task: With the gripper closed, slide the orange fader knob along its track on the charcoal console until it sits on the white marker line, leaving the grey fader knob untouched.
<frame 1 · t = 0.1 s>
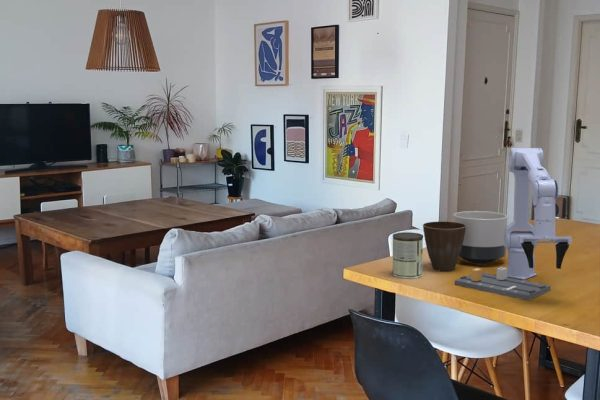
hand: (544, 268, 182), 11 cm above the table, tool pointing down, fingers open, 7 cm apart
plant pot: (443, 269, 226), on the table
grey fader knob: (501, 273, 204), point 4 cm above the table, slide at 0.0 cm
coffee can: (407, 275, 218), on the table
console: (501, 287, 201), on the table
planter: (478, 262, 237), on the table
orange fader knob: (476, 274, 203), point 4 cm above the table, slide at 0.0 cm
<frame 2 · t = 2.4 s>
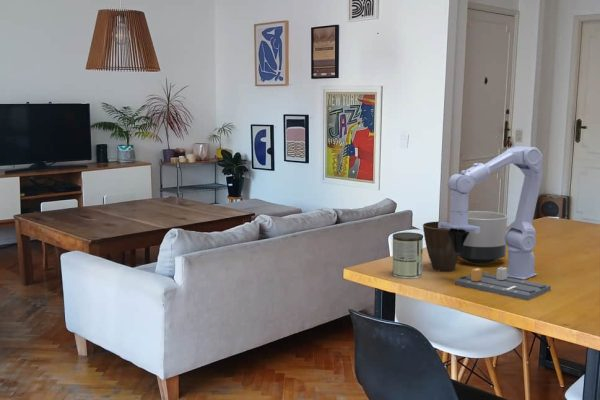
hand: (458, 252, 207), 10 cm above the table, tool pointing down, fingers closed
nothing on the table moved.
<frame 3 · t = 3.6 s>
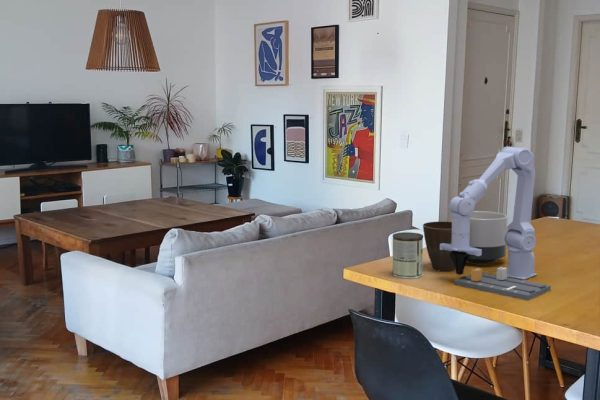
hand: (459, 274, 208), 3 cm above the table, tool pointing down, fingers closed
nothing on the table moved.
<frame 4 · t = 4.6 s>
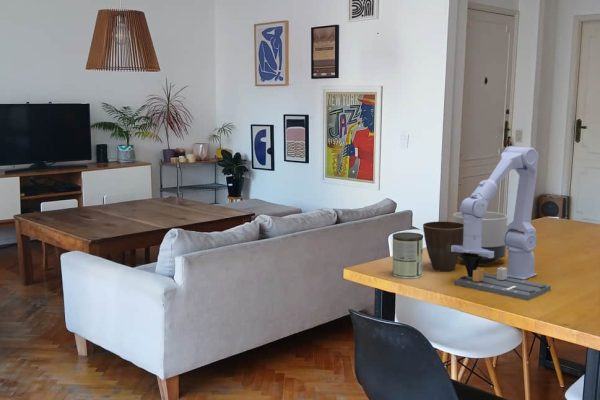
hand: (471, 276, 205), 3 cm above the table, tool pointing down, fingers closed
orange fader knob: (478, 274, 203), point 4 cm above the table, slide at 0.5 cm, touching gripper
everything else where it was.
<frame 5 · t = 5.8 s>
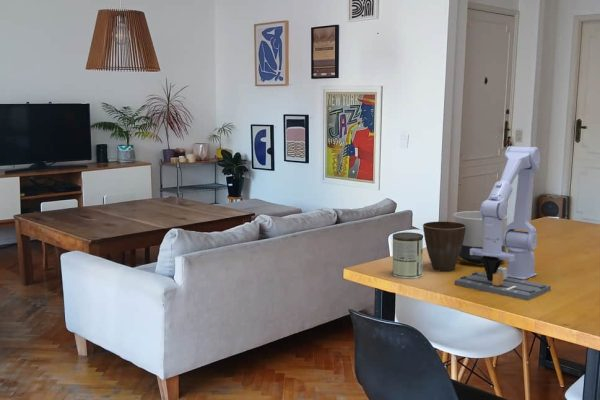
hand: (490, 280, 200), 3 cm above the table, tool pointing down, fingers closed
orange fader knob: (498, 278, 198), point 4 cm above the table, slide at 7.5 cm, touching gripper
everything else where it was.
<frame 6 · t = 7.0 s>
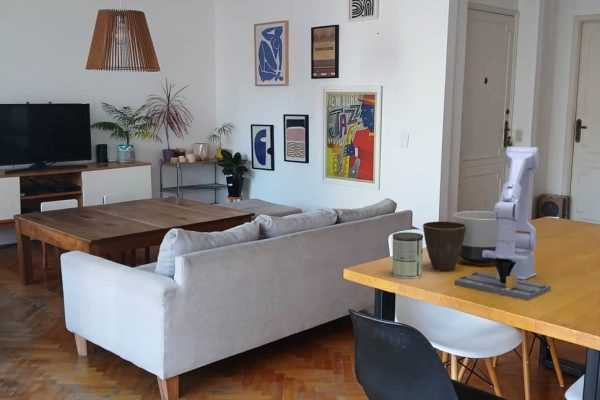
hand: (504, 282, 196), 3 cm above the table, tool pointing down, fingers closed
orange fader knob: (511, 281, 195), point 4 cm above the table, slide at 12.0 cm, touching gripper
everything else where it was.
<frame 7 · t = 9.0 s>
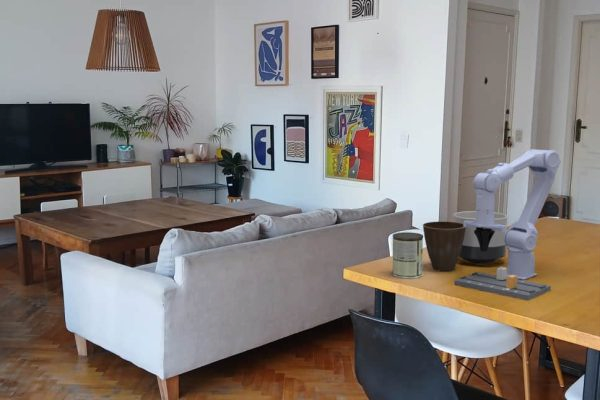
hand: (483, 250, 207), 10 cm above the table, tool pointing down, fingers closed
orange fader knob: (511, 281, 194), point 4 cm above the table, slide at 12.2 cm
everything else where it was.
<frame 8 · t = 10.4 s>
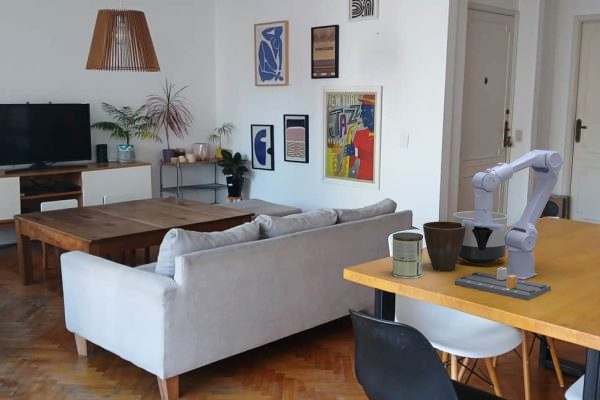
hand: (481, 249, 208), 10 cm above the table, tool pointing down, fingers closed
nothing on the table moved.
at the end: orange fader knob slide at 12.2 cm; grey fader knob slide at 0.0 cm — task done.
